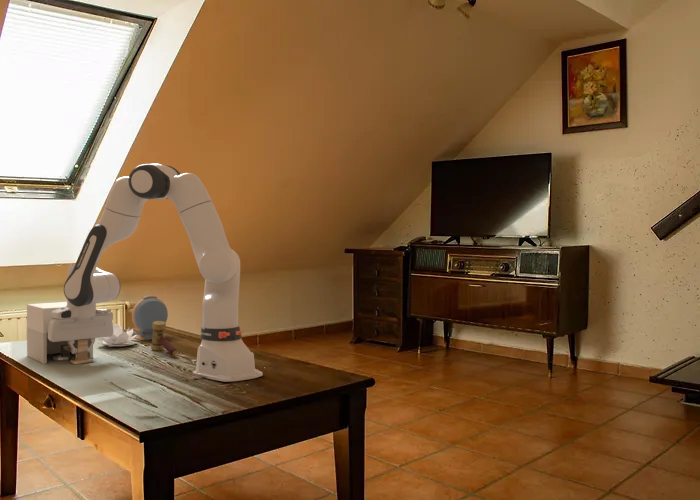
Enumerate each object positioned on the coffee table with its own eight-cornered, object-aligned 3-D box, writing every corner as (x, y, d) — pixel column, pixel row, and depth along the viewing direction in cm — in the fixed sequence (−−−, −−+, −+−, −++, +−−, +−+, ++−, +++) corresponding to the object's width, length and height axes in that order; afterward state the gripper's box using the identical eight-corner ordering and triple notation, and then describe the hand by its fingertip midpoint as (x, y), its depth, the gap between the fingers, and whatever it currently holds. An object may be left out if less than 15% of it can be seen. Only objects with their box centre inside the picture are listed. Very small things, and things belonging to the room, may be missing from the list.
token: (71, 360, 216) (71, 356, 216) (55, 362, 213) (55, 358, 212) (66, 358, 220) (66, 354, 220) (51, 359, 216) (51, 356, 216)
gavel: (182, 368, 221) (184, 341, 219) (169, 369, 219) (171, 342, 216) (161, 345, 238) (163, 320, 235) (148, 346, 235) (151, 321, 233)
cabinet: (94, 358, 218) (94, 305, 218) (44, 364, 207) (44, 308, 207) (74, 350, 232) (74, 301, 232) (27, 356, 221) (26, 304, 221)
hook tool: (93, 362, 211) (93, 339, 210) (74, 364, 207) (74, 341, 206) (73, 354, 224) (73, 332, 224) (55, 356, 220) (55, 334, 220)
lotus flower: (144, 344, 248) (144, 321, 248) (128, 350, 233) (128, 327, 233) (108, 343, 249) (108, 321, 249) (90, 350, 234) (90, 326, 234)
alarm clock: (161, 336, 268) (161, 294, 268) (171, 338, 261) (171, 295, 260) (128, 339, 259) (128, 295, 259) (137, 342, 252) (137, 297, 251)
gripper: (109, 308, 219) (109, 348, 219) (46, 312, 205) (46, 355, 206) (116, 309, 214) (116, 350, 215) (52, 314, 201) (52, 357, 201)
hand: (81, 352), depth 210 cm, fingers closed on hook tool, 3 cm apart
